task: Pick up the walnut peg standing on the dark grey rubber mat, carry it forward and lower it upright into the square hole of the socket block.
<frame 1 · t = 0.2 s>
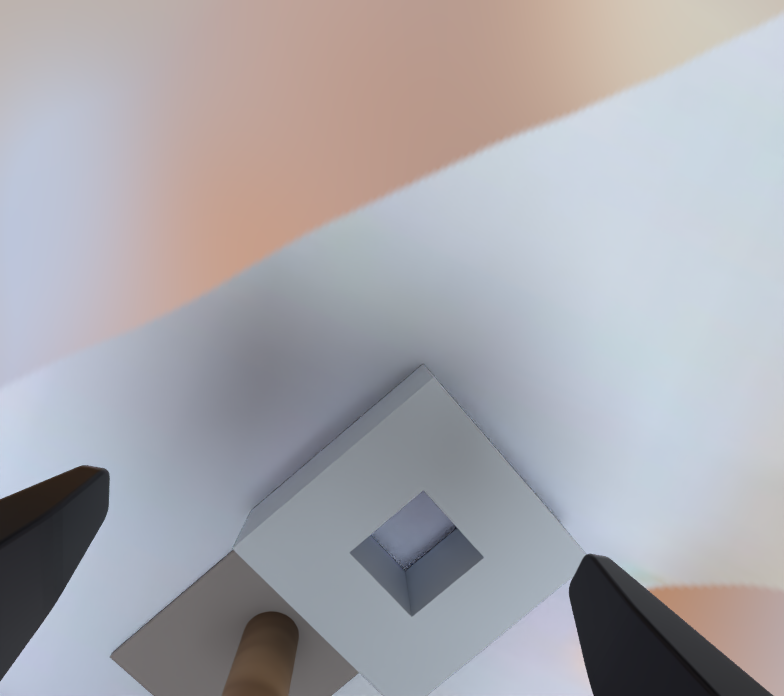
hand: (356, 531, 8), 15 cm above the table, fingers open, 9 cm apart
mat: (272, 632, 25), on the table
socket block: (409, 517, 25), on the table
peg: (271, 636, 25), resting on mat
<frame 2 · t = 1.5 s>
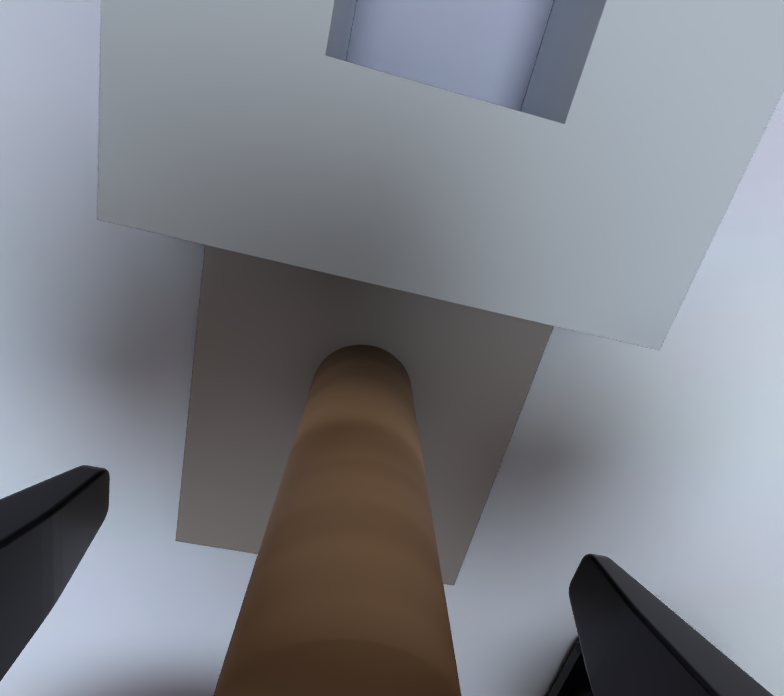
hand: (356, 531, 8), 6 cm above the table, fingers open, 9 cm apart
mat: (362, 386, 14), on the table
socket block: (453, 12, 11), on the table
peg: (361, 390, 14), resting on mat
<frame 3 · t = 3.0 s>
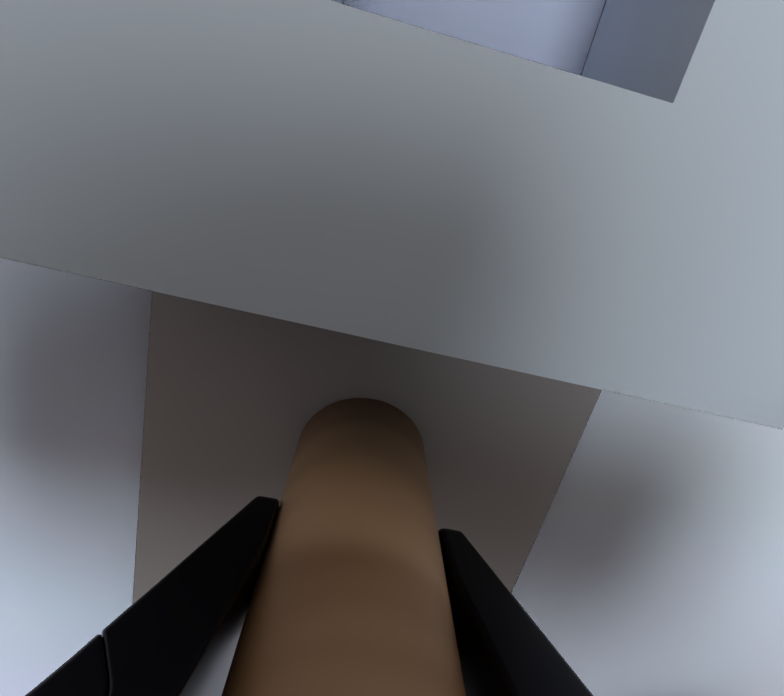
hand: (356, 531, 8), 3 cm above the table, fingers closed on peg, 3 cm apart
mat: (361, 447, 11), on the table
peg: (360, 454, 11), resting on mat, touching gripper
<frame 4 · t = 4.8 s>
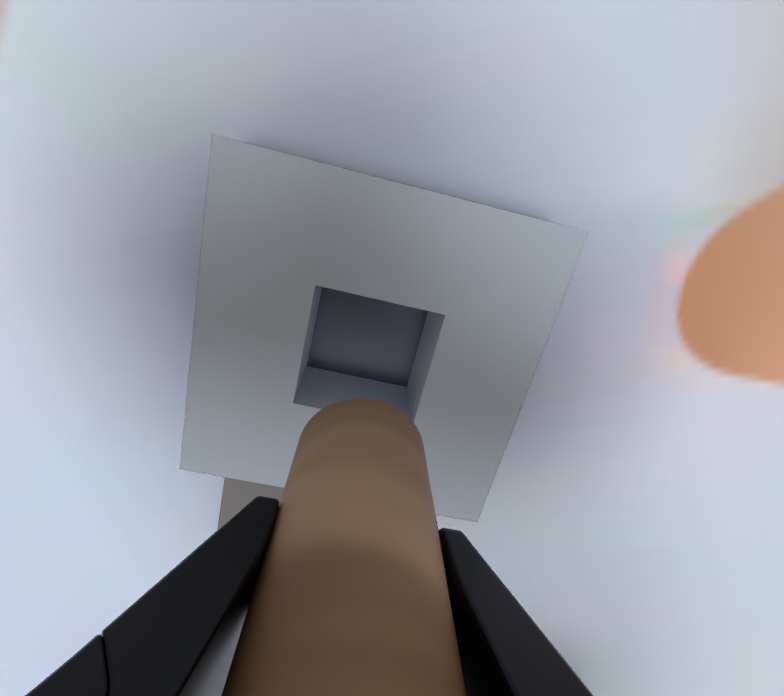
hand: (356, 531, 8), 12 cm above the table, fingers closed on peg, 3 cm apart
mat: (324, 514, 23), on the table
socket block: (368, 329, 19), on the table
peg: (361, 454, 11), point 9 cm above the table, touching gripper
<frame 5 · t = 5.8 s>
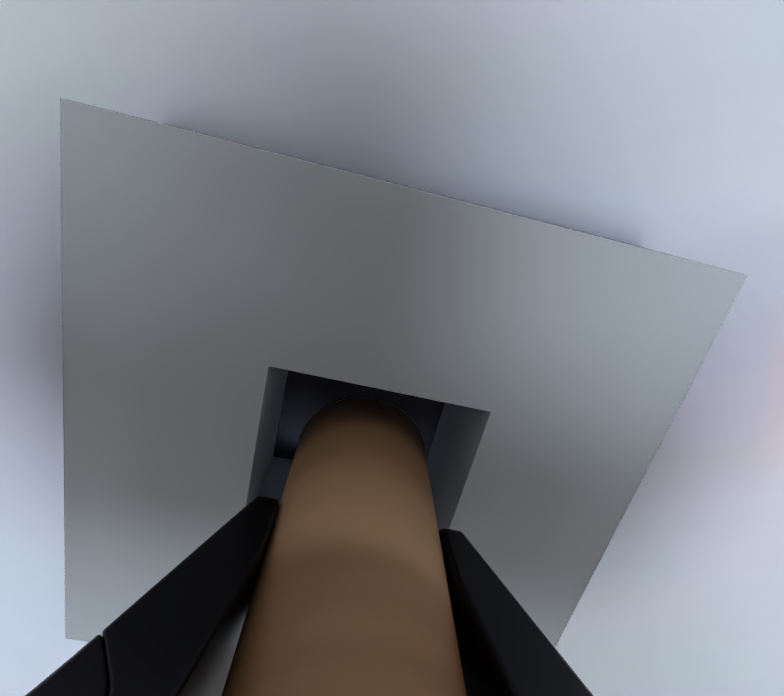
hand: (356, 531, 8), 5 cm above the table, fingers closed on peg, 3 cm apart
socket block: (363, 405, 13), on the table
peg: (361, 454, 11), point 2 cm above the table, touching gripper
when the fingers open (4 cm above the table, at t = 6.5 s): peg drops 2 cm, resting in socket block.
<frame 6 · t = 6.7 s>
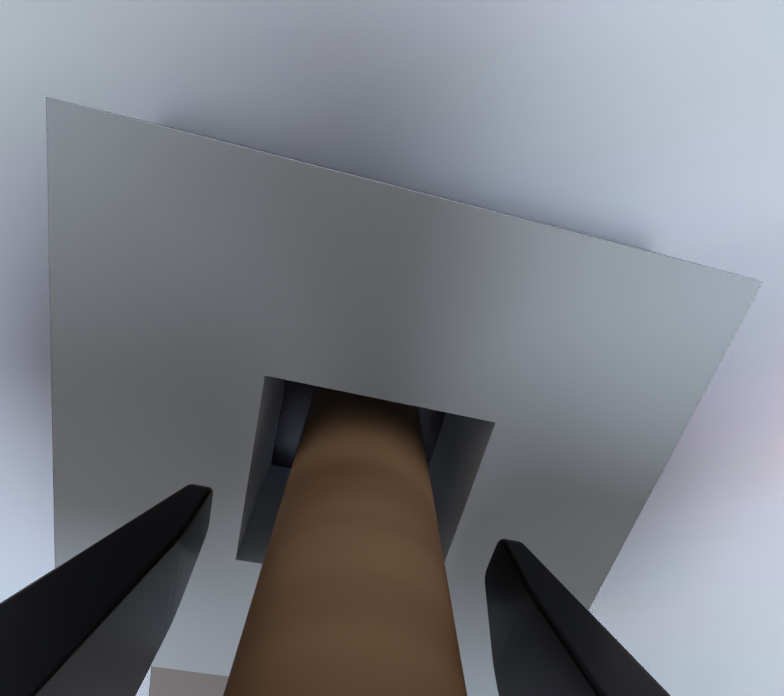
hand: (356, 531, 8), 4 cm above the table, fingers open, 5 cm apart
mat: (302, 657, 16), on the table
socket block: (363, 412, 13), on the table
peg: (364, 413, 13), resting in socket block
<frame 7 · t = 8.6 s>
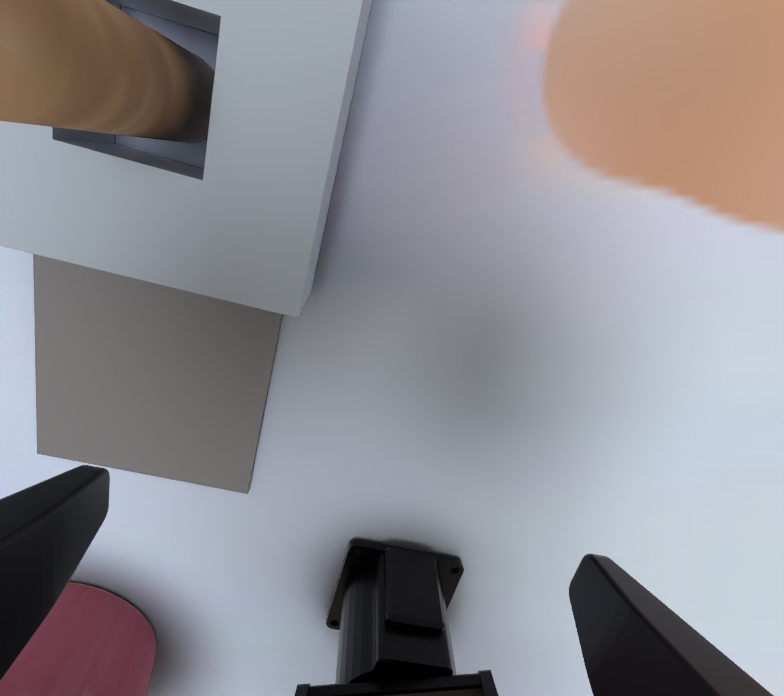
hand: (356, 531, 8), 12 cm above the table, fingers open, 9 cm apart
plant pot: (82, 632, 27), on the table
mat: (159, 343, 20), on the table
socket block: (181, 96, 17), on the table
peg: (182, 97, 17), resting in socket block
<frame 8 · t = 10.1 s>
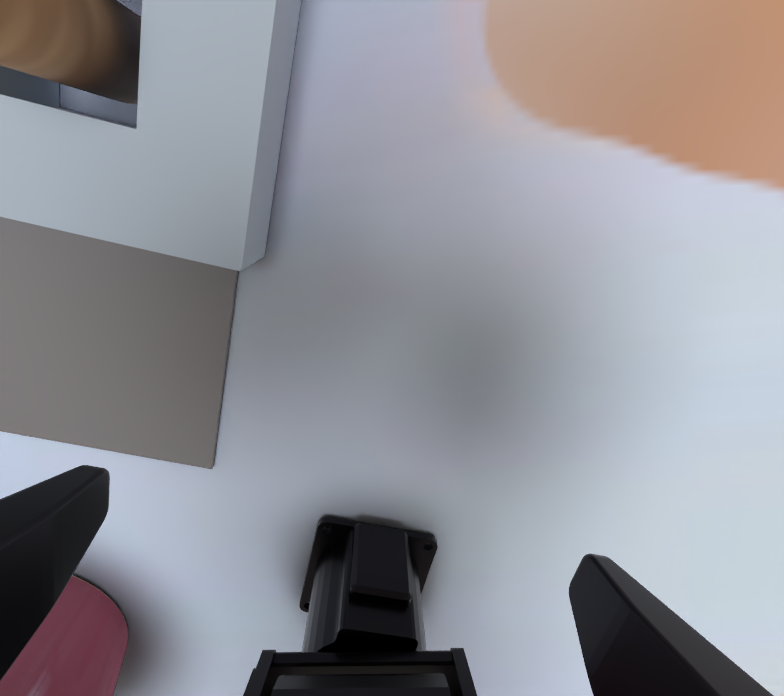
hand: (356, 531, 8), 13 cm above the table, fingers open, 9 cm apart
plant pot: (53, 621, 26), on the table
mat: (115, 313, 20), on the table
socket block: (123, 56, 17), on the table
peg: (124, 57, 17), resting in socket block
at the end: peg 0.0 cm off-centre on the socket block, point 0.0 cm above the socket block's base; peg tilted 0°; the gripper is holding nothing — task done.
